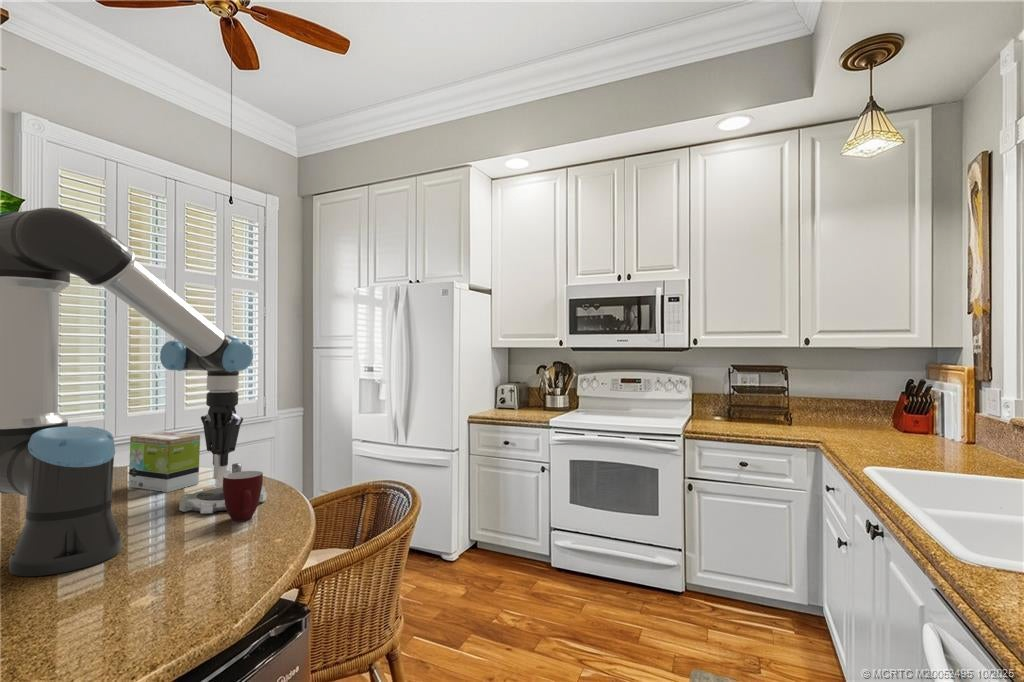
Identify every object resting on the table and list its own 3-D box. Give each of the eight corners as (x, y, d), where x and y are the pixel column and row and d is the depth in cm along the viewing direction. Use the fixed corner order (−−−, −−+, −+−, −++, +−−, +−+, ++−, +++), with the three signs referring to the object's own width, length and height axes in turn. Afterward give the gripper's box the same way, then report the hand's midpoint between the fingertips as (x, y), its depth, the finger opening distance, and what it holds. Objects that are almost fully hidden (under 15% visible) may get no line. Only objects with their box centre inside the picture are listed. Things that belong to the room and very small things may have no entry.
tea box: (126, 488, 136) (128, 435, 137) (161, 480, 146) (163, 430, 147) (166, 493, 132) (168, 438, 133) (200, 484, 142) (201, 433, 142)
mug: (270, 521, 110) (272, 476, 111) (231, 529, 104) (232, 483, 105) (254, 510, 118) (256, 469, 118) (217, 518, 112) (218, 474, 112)
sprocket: (239, 514, 113) (240, 480, 114) (158, 512, 114) (159, 478, 114) (281, 492, 133) (282, 462, 133) (211, 490, 133) (212, 461, 134)
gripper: (252, 391, 135) (249, 476, 134) (217, 389, 139) (214, 472, 138) (228, 392, 128) (225, 483, 127) (192, 391, 132) (189, 478, 131)
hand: (219, 477), depth 132 cm, fingers closed
